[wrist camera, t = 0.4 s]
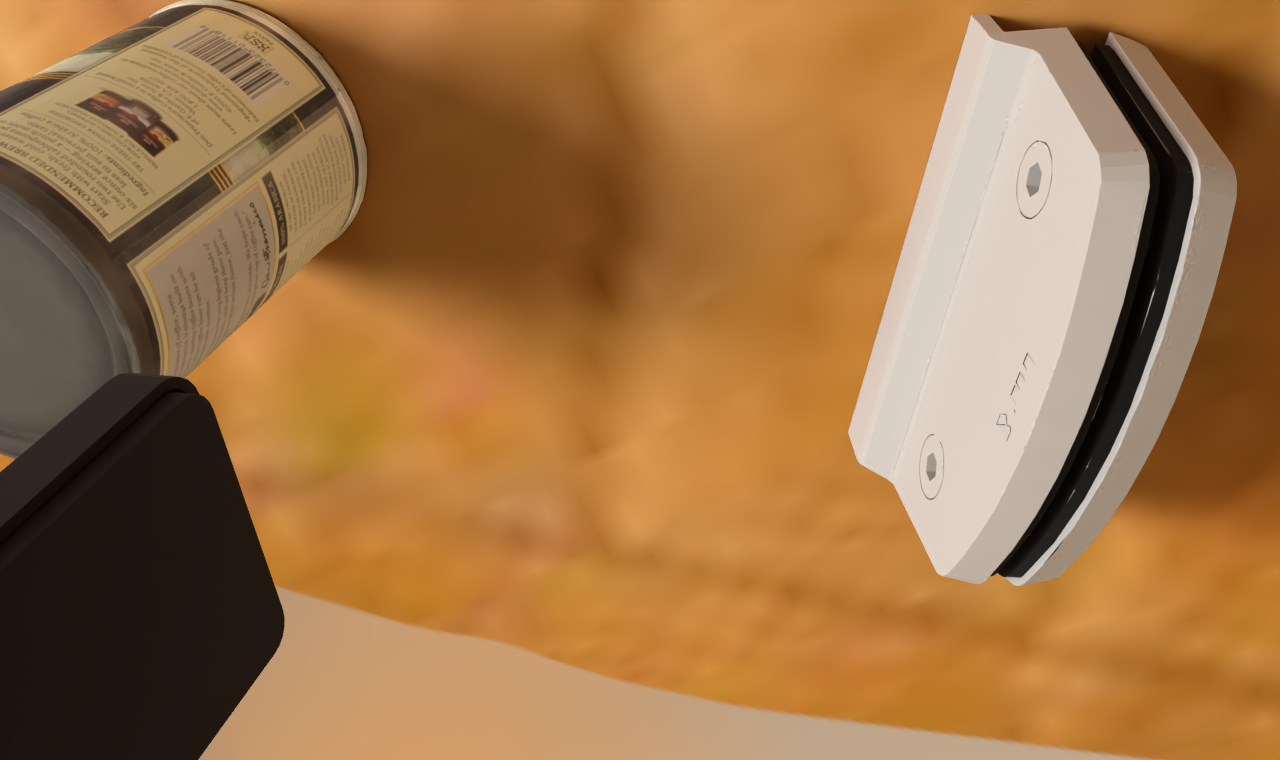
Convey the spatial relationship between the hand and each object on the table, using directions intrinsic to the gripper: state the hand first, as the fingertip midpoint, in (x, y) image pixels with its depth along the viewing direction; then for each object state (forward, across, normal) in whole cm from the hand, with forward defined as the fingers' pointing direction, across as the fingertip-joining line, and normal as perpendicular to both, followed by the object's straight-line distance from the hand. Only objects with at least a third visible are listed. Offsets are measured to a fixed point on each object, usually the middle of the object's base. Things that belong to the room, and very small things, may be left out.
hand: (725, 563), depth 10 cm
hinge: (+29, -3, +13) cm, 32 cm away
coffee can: (+29, +25, +8) cm, 40 cm away
